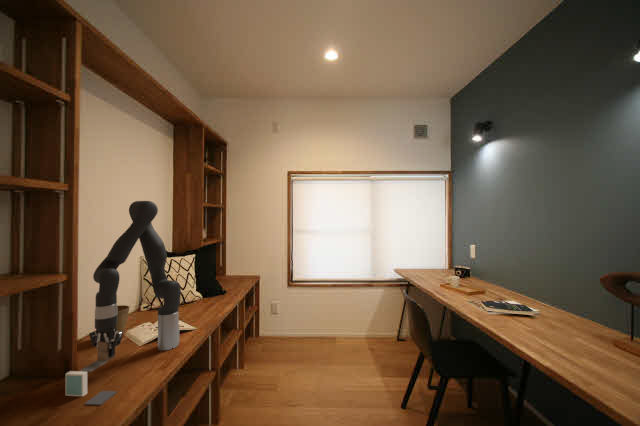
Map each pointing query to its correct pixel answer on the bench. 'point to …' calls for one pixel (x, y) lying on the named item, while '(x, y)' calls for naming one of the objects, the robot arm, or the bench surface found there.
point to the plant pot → (122, 317)
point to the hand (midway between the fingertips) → (106, 356)
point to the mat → (101, 398)
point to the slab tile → (76, 383)
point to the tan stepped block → (99, 357)
